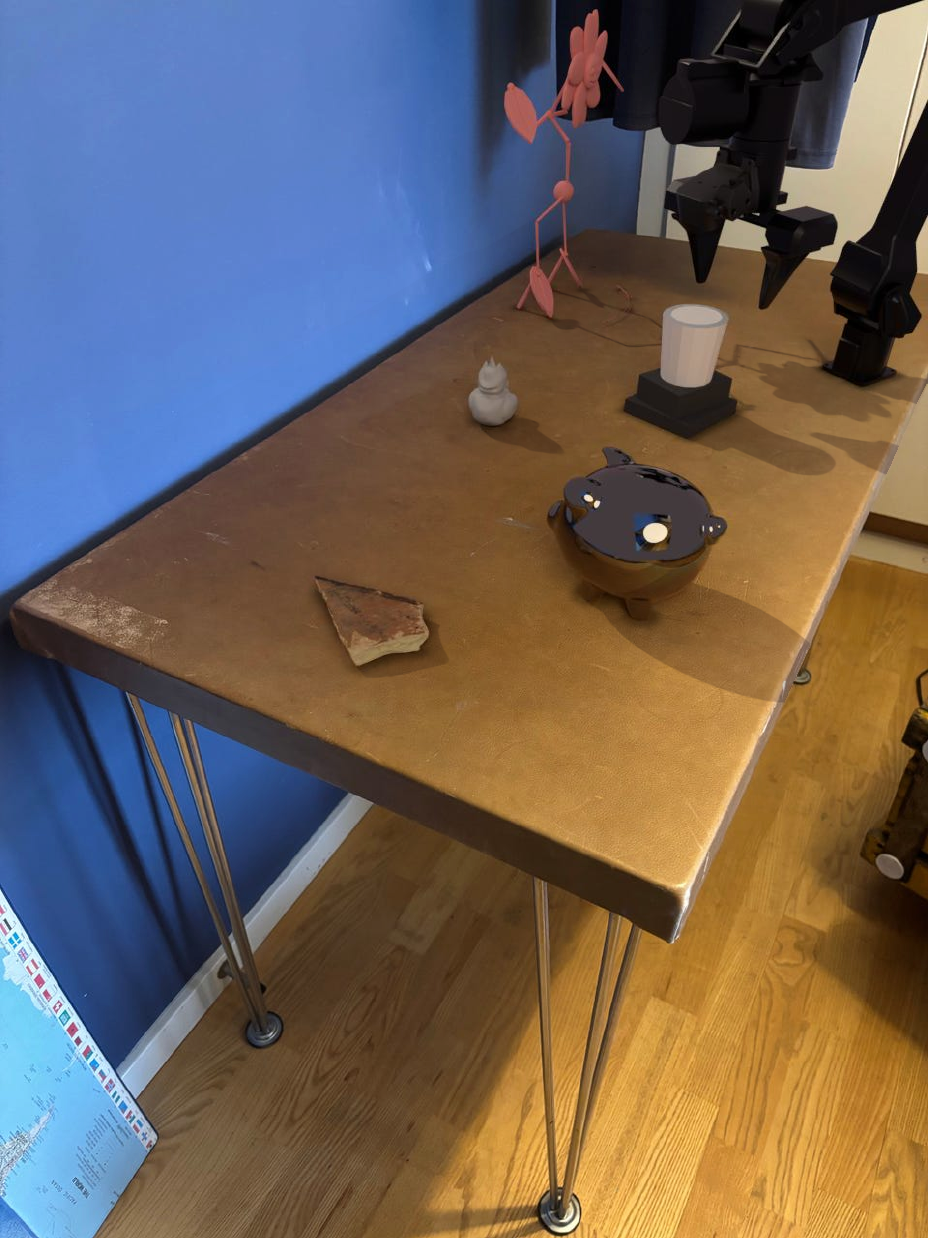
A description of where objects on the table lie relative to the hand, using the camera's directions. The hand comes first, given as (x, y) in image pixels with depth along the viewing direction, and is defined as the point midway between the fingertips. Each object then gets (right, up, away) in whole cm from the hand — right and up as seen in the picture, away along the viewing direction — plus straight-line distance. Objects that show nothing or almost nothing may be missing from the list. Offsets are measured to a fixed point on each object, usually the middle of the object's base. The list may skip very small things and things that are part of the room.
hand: (731, 295), depth 98 cm
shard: (-37, -36, -24) cm, 57 cm away
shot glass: (-4, -8, +3) cm, 10 cm away
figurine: (-13, +9, +31) cm, 35 cm away
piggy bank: (-15, -33, -19) cm, 41 cm away
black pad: (-4, -10, +5) cm, 12 cm away
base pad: (-4, -11, +6) cm, 13 cm away
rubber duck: (-26, -13, +5) cm, 29 cm away
